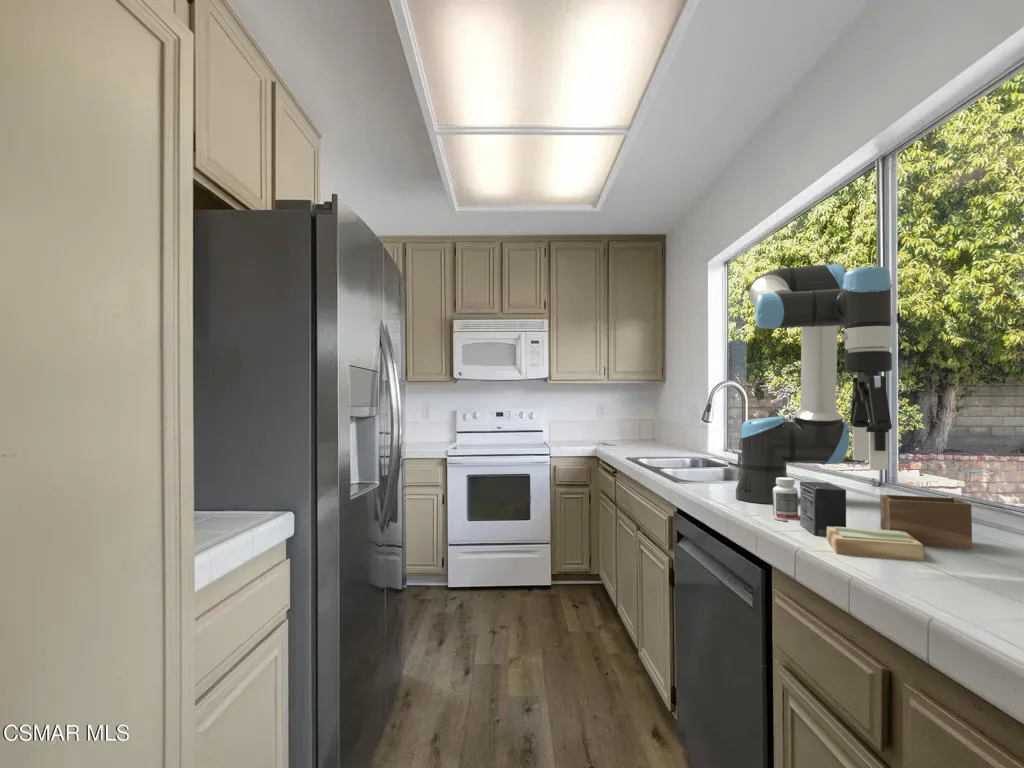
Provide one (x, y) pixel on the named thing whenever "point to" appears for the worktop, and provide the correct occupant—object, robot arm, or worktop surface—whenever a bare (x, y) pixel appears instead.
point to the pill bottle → (785, 499)
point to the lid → (874, 543)
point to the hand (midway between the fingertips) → (869, 464)
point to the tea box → (929, 519)
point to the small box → (821, 507)
